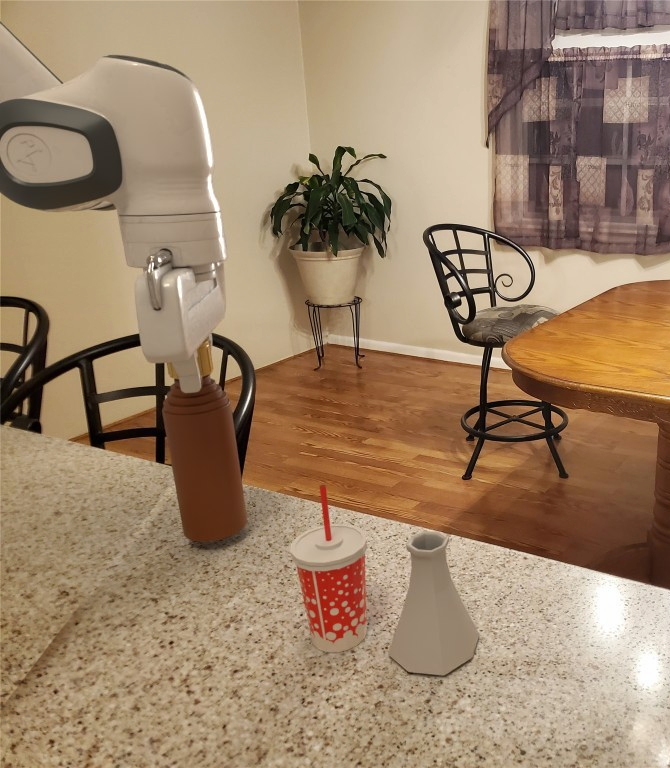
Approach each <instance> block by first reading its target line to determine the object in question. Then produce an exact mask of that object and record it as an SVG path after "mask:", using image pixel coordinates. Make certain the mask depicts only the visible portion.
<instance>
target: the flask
mask: <svg viewBox="0 0 670 768" xmlns="http://www.w3.org/2000/svg"><path fill="white" fill-rule="evenodd" d="M449 543H450V537H449V536H447V535H445V534H444V533H442V532H440V531H431V530H422V531H421V532H418V533H416V534H414V535H412V536H410V537H409V539H408V541H407V542H406V545H405V549H406V550H407V552H409V554H410V564H411V570H410V575H409V576H410V577H409V582H408V583H409V585H408V588H407V589H408V590H407V592H406V596H405V600H404V603H403V606H402V609H401V613H400V617H399V620H398V621H397V626H396V629H395V632H394V634H393V637H392V640H391V643H390V647H389V649H388V653H387V655H388V656H389V657H390V658H392V659H393V660H394V661H395V662H396V663H397V664H399V665H400V666H401V667H402V668H403V669H404V670H406V671H407V672H408V673H415V674H416V673H417V674H426V675H436V676H445V675H447V674H450V673H451V672H452V671H454V670H456V669H457V668H459V666H461V665H463V664H464V663H466V662H468V661H470V660H471V659H473V656H474V653H475V650H476V646H477V643H478V641H479V637H480V633H479V630H478V629H477V627H476V625H475V622H474V620H473V618H472V617H471V615H470V613H469V611H468V609H467V608H466V606H465V604H464V603H463V600H462V598H461V596H460V594H459V591H458V590H457V587H456V585H455V583H454V581H453V579H452V575H451V572H450V567H449V564H448V561H447V550H446V549H447V547H448V545H449Z"/></svg>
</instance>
